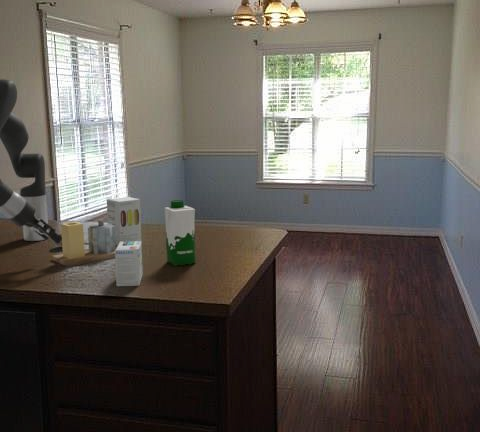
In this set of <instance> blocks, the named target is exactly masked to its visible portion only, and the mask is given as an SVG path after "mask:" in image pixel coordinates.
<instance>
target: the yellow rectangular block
mask: <svg viewBox="0 0 480 432" xmlns="http://www.w3.org/2000/svg"><path fill="white" fill-rule="evenodd" d="M60 230H61V232H60V233H61V234H62V246H61V248H62V254H63V257H66V258H69V259H74V258H79V257H84V256H85V250H86V249H85V236H84V233H85V232H84V223H82V222H79V221H73V222H72V221H71V222H64V223H60Z"/></svg>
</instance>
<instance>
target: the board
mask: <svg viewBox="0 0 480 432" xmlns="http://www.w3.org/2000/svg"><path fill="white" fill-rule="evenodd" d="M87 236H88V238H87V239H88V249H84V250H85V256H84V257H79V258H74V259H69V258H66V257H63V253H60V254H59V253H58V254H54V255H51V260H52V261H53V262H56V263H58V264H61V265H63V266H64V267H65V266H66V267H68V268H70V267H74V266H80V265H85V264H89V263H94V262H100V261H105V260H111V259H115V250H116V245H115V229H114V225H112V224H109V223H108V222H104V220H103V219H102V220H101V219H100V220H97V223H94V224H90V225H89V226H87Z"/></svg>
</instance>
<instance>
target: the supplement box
mask: <svg viewBox="0 0 480 432" xmlns="http://www.w3.org/2000/svg"><path fill="white" fill-rule="evenodd" d="M106 213H107V215H106V217H107V223H109V224H112V225H114V229H115V246H116V247H117V246H118V244H119V242H128V241H141V242H142V222H141V221H142V220H141V219H142V218H141V216H142V215H141V199H140V198H136V197H135V198H134V197H131V196H130V197H129V196H125V197H116V198H114V197H113V198H107V199H106Z"/></svg>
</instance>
